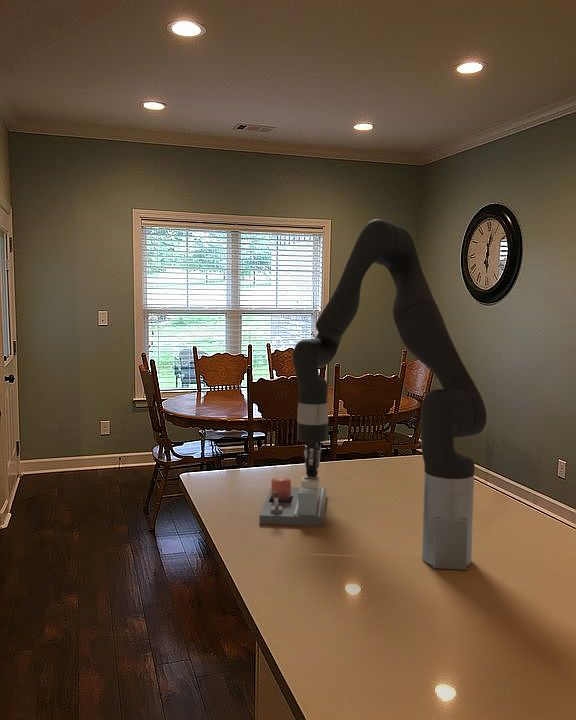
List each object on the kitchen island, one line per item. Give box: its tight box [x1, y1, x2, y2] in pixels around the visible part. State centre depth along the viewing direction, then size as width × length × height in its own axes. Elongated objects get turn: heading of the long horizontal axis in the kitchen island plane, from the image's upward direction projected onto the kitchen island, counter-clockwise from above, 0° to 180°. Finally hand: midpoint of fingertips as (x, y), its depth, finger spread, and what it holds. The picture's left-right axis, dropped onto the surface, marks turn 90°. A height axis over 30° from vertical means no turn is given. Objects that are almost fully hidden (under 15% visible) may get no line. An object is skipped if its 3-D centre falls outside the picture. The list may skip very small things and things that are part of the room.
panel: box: [258, 486, 327, 528], centre depth 152 cm, size 22×14×7 cm, turn 174°
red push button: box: [270, 477, 292, 500], centre depth 154 cm, size 5×5×4 cm
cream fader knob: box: [300, 476, 320, 502], centre depth 153 cm, size 4×4×5 cm
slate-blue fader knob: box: [298, 487, 317, 516], centre depth 144 cm, size 4×4×5 cm
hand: (312, 490), depth 158 cm, fingers closed
